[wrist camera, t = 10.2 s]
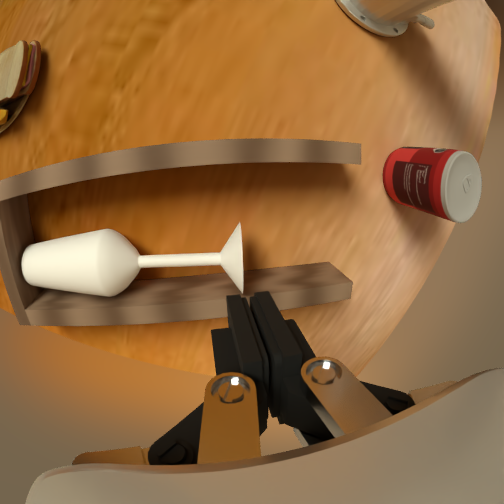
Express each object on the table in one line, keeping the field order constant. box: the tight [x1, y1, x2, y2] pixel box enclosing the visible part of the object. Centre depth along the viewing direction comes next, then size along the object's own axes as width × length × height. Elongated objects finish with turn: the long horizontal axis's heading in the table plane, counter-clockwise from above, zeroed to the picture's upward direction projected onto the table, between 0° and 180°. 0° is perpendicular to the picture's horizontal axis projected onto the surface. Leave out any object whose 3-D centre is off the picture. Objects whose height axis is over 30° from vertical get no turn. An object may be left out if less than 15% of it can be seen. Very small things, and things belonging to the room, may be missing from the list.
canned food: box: [383, 147, 482, 223], centre depth 26 cm, size 8×8×11 cm
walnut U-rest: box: [0, 139, 361, 326], centre depth 25 cm, size 38×16×6 cm, turn 92°
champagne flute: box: [22, 222, 243, 297], centre depth 24 cm, size 7×7×24 cm
